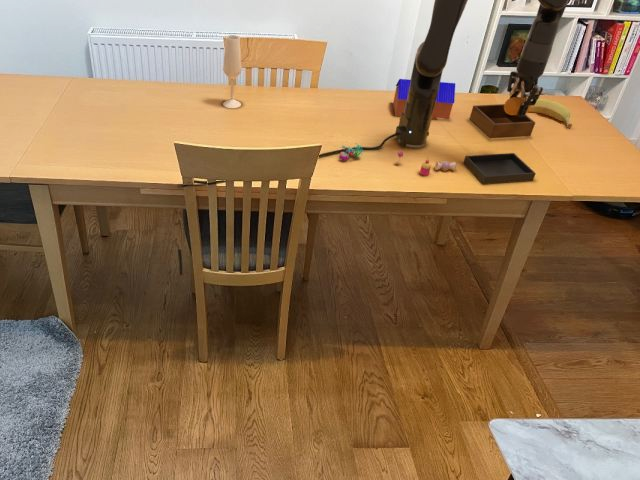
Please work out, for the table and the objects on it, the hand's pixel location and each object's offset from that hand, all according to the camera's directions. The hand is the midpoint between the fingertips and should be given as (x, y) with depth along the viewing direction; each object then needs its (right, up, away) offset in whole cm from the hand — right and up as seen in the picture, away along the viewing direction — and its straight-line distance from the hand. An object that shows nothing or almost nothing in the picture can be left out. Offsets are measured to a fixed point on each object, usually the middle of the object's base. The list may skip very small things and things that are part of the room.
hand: (515, 112), depth 179 cm
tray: (-3, -17, +7) cm, 18 cm away
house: (-18, +12, +39) cm, 45 cm away
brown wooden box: (+8, +3, +31) cm, 32 cm away
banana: (+28, +9, +39) cm, 49 cm away
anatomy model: (-50, -11, +11) cm, 52 cm away
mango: (0, 0, +1) cm, 1 cm away
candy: (-26, -17, +6) cm, 31 cm away
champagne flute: (-89, +14, +38) cm, 97 cm away
